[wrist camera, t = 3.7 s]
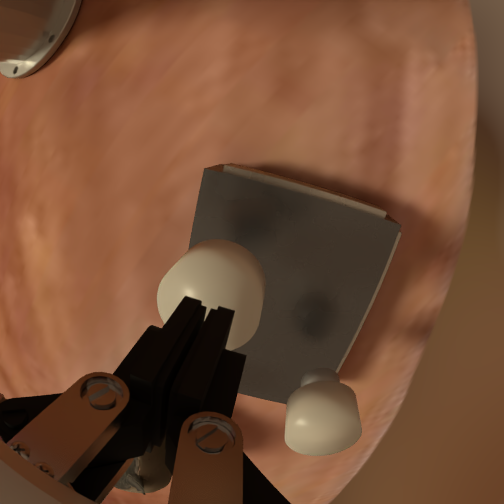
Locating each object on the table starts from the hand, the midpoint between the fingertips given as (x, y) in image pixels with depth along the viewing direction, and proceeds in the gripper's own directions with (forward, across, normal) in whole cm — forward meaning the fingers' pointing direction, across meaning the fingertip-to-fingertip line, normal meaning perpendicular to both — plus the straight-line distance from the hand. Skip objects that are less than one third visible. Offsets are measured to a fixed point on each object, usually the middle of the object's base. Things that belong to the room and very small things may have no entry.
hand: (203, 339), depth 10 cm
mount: (+13, -2, +4) cm, 14 cm away
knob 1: (+6, 0, 0) cm, 6 cm away
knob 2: (+6, -7, +6) cm, 11 cm away
